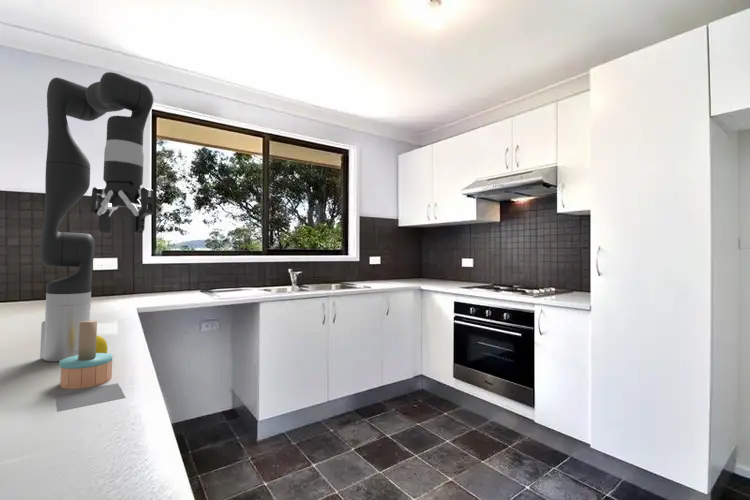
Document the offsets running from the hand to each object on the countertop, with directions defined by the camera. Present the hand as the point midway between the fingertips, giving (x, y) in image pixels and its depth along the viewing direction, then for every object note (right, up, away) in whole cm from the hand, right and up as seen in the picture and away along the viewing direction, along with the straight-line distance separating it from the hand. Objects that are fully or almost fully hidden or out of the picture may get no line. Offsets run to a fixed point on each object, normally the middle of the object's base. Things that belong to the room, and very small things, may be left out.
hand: (121, 232), depth 84 cm
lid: (-4, -29, -6) cm, 30 cm away
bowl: (-4, -33, -6) cm, 33 cm away
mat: (+3, -33, -13) cm, 36 cm away
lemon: (-11, -33, +5) cm, 35 cm away
